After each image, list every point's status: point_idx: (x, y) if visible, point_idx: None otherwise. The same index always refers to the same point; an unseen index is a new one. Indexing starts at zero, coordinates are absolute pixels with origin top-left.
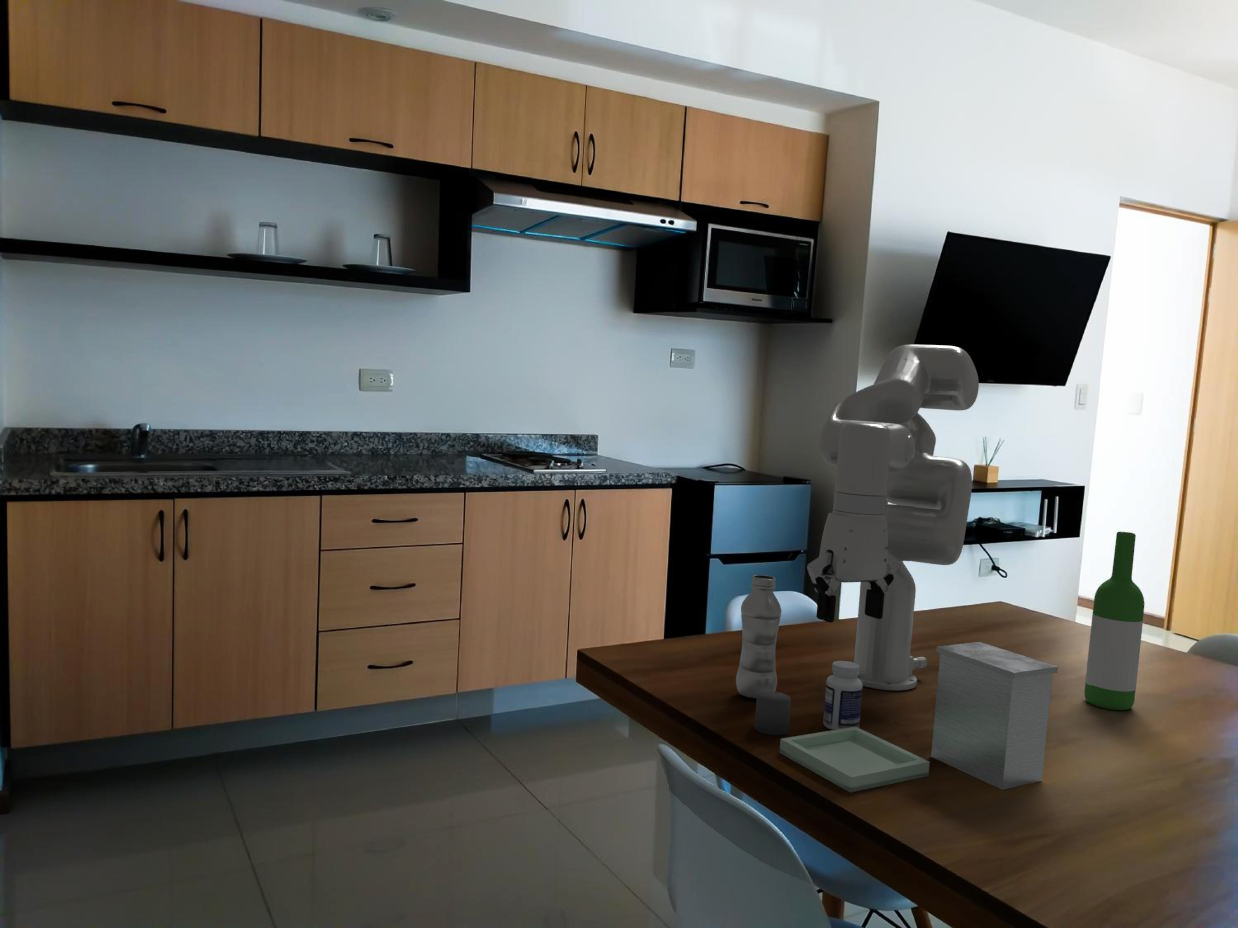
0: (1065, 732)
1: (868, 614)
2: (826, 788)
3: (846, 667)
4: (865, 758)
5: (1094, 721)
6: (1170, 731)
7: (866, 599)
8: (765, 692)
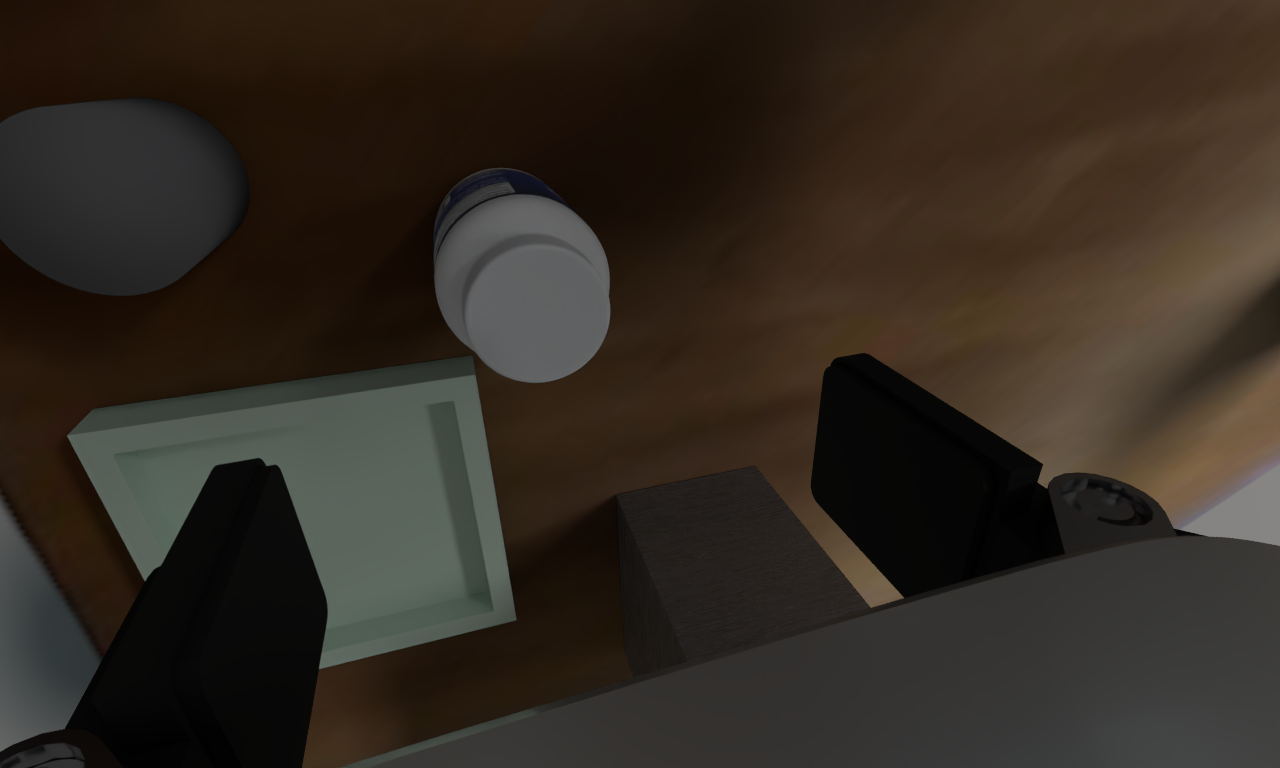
0: (1055, 410)
1: (823, 407)
2: None
3: (501, 370)
4: (388, 518)
5: (1179, 363)
6: (1221, 440)
7: (911, 432)
8: (62, 126)
